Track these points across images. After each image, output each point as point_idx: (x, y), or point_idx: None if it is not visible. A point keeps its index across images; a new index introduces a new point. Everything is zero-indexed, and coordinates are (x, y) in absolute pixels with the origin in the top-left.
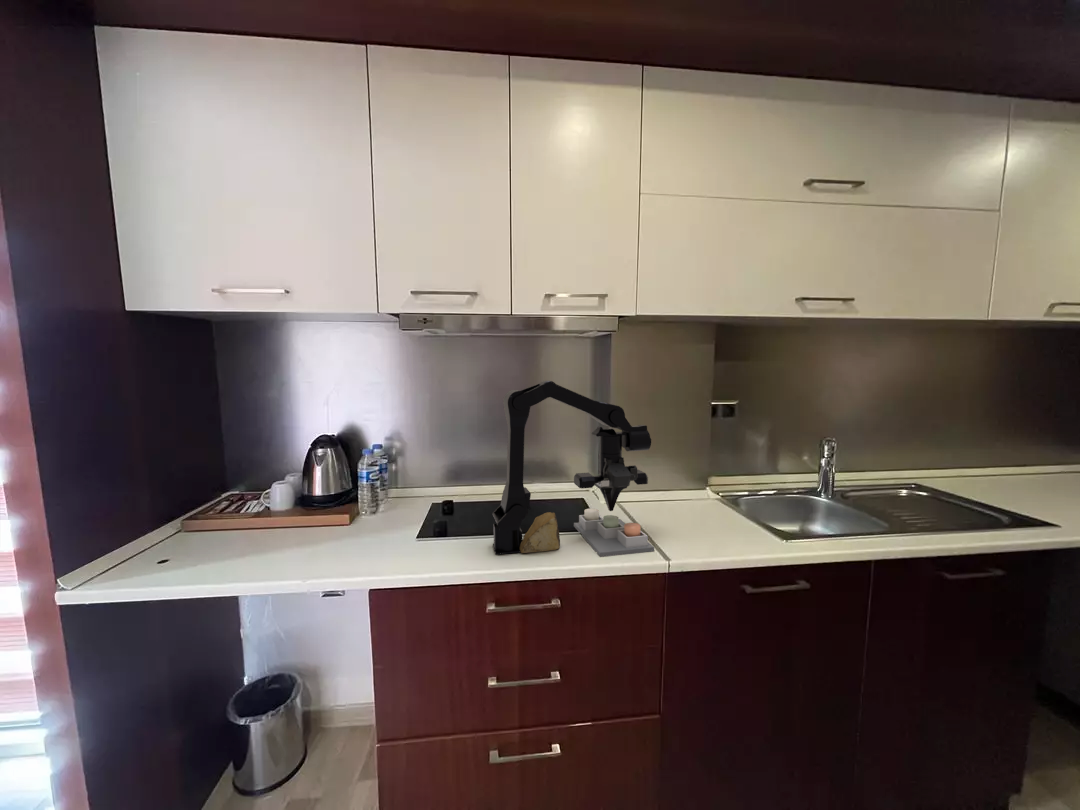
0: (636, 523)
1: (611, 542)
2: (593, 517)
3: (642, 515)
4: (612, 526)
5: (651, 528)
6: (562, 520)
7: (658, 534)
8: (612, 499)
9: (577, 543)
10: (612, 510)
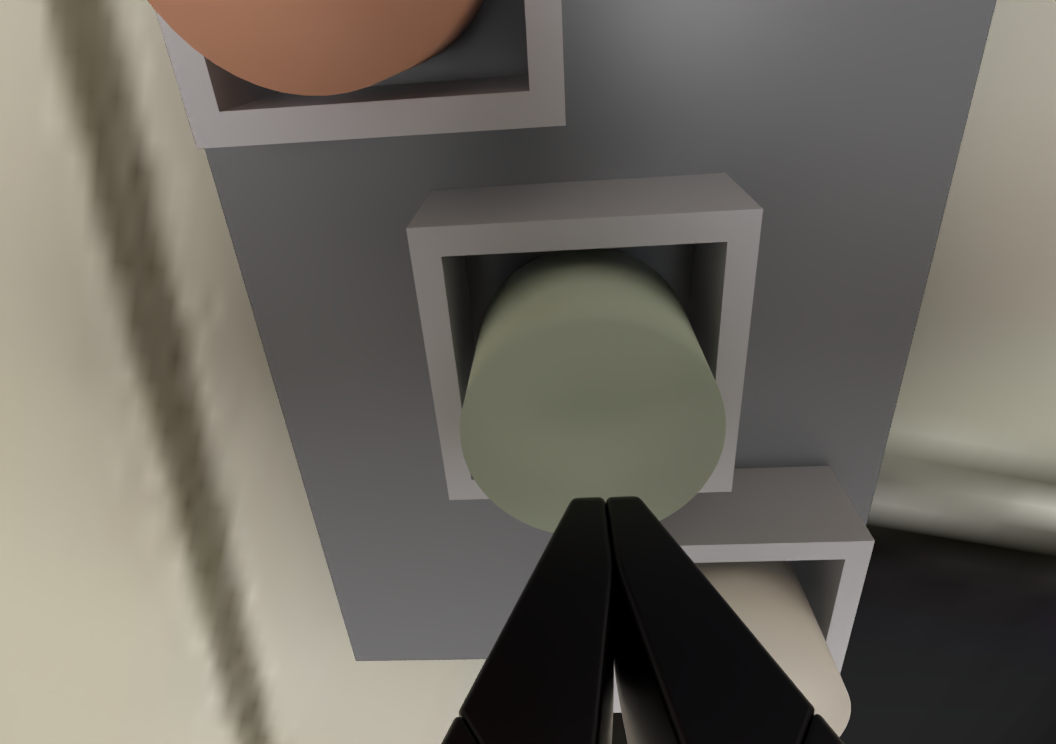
0: (169, 7)
1: (691, 8)
2: (748, 597)
3: (135, 717)
4: (606, 272)
5: (74, 460)
6: (848, 738)
7: (3, 294)
8: (602, 739)
9: (1052, 204)
10: (583, 498)
